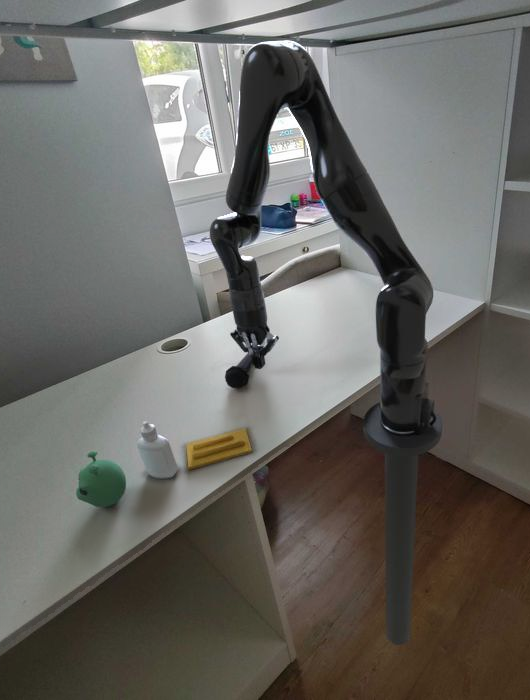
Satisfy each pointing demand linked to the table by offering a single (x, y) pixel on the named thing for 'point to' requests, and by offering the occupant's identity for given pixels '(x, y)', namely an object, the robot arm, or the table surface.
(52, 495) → the table surface
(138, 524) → the table surface
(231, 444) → the soap dish
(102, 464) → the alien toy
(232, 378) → the microphone
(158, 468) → the eye dropper bottle
